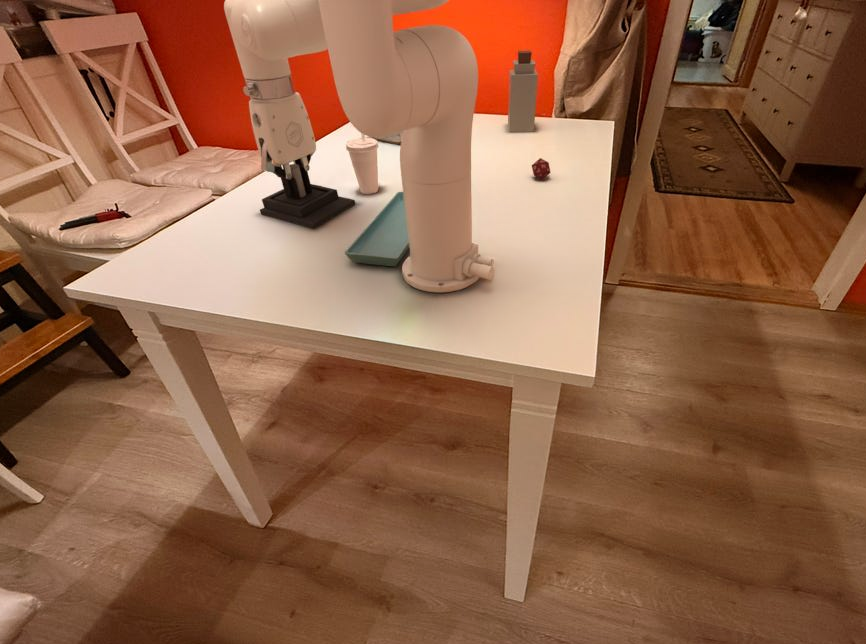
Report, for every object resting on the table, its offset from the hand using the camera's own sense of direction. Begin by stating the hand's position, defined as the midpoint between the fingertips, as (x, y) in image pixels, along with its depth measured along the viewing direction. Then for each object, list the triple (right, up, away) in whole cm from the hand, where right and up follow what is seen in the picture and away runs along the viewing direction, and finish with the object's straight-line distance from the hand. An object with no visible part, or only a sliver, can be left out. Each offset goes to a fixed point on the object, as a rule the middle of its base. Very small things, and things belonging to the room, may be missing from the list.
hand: (299, 193), depth 90 cm
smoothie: (+12, +3, +8) cm, 15 cm away
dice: (+49, +7, +11) cm, 51 cm away
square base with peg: (0, -1, +1) cm, 2 cm away
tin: (+12, +25, +33) cm, 43 cm away
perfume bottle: (+48, +32, +38) cm, 69 cm away
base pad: (+1, -3, +1) cm, 3 cm away
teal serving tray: (+21, -10, -7) cm, 24 cm away
